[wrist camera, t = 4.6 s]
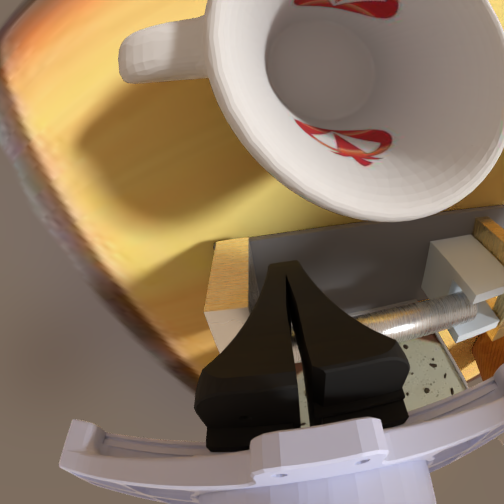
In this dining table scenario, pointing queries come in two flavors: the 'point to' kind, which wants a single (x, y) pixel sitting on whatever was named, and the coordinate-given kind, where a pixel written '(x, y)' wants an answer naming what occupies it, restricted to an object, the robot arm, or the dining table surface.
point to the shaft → (243, 301)
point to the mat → (367, 255)
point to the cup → (347, 94)
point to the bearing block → (465, 280)
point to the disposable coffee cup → (489, 359)
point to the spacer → (500, 246)
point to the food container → (412, 371)
